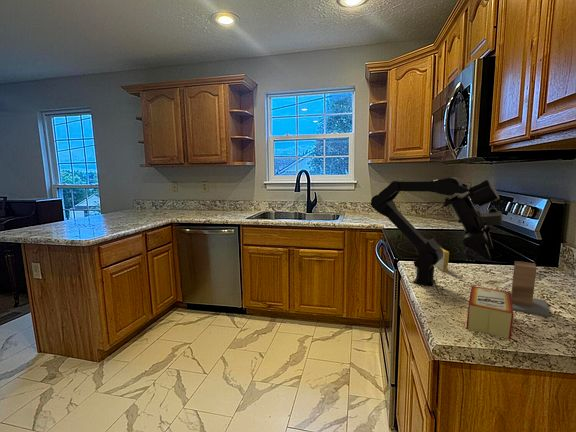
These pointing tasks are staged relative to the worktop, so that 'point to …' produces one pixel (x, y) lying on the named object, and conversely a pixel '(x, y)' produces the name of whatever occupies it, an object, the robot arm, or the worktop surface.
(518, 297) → the walnut block
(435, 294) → the worktop surface
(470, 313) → the baking soda box
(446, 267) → the candy box
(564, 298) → the worktop surface
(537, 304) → the charcoal mat
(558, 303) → the worktop surface
